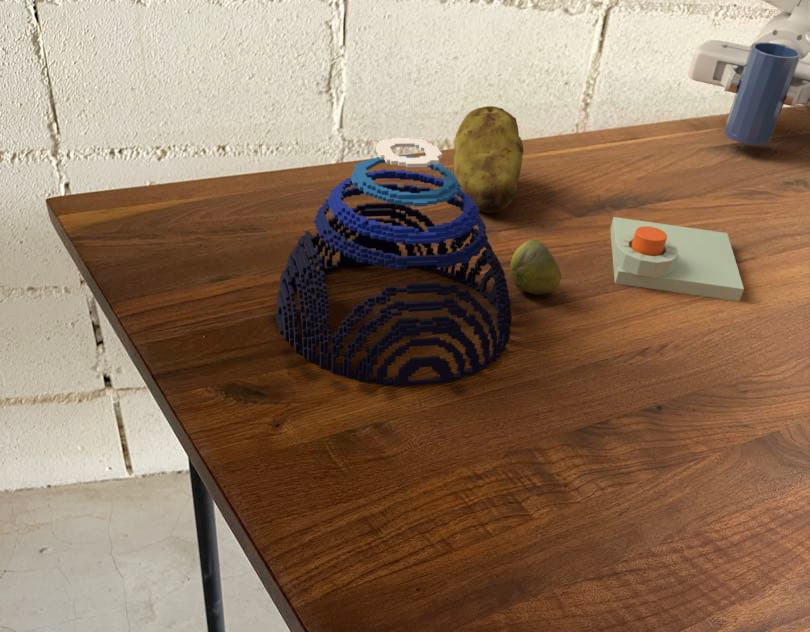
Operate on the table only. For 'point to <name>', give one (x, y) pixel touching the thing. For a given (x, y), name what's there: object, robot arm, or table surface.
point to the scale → (677, 261)
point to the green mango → (535, 268)
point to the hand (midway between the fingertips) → (761, 91)
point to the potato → (488, 158)
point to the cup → (761, 93)
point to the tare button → (649, 241)
